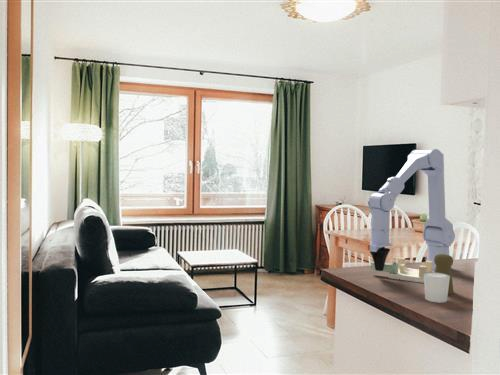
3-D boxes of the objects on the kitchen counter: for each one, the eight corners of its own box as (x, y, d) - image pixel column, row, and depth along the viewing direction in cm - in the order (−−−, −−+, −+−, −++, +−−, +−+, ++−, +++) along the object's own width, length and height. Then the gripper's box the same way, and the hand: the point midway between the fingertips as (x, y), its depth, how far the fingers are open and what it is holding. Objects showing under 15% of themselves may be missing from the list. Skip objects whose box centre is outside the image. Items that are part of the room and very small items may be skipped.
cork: (455, 294, 131) (457, 257, 131) (433, 293, 133) (434, 256, 132) (451, 289, 137) (452, 253, 137) (429, 288, 138) (430, 252, 138)
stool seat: (398, 271, 161) (398, 257, 160) (434, 275, 154) (434, 261, 154) (388, 277, 151) (388, 262, 150) (426, 283, 144) (426, 267, 144)
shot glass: (417, 296, 129) (418, 272, 129) (438, 295, 131) (439, 271, 130) (433, 304, 122) (433, 278, 122) (454, 302, 124) (455, 277, 124)
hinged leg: (399, 272, 151) (399, 262, 151) (397, 273, 149) (397, 263, 149) (373, 268, 156) (373, 259, 156) (370, 269, 154) (371, 260, 154)
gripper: (386, 233, 141) (384, 276, 142) (398, 228, 153) (397, 267, 154) (363, 231, 145) (362, 273, 146) (377, 226, 157) (376, 265, 158)
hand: (379, 270), depth 150 cm, fingers closed
